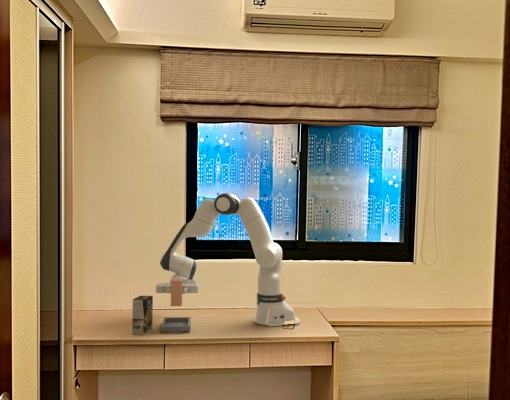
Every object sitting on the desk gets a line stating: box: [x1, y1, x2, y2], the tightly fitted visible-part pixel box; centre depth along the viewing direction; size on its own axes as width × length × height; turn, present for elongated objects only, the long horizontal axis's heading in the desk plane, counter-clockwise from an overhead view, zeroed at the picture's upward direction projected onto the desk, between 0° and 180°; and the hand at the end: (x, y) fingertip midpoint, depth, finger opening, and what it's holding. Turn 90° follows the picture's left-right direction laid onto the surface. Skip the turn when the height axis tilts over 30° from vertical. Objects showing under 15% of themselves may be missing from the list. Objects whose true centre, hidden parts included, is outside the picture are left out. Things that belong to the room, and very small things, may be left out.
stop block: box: [170, 278, 183, 307], centre depth 246 cm, size 5×5×12 cm
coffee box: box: [131, 295, 154, 336], centre depth 239 cm, size 9×6×16 cm
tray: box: [160, 316, 192, 334], centre depth 247 cm, size 13×16×3 cm
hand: (176, 291), depth 245 cm, fingers closed on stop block, 5 cm apart
